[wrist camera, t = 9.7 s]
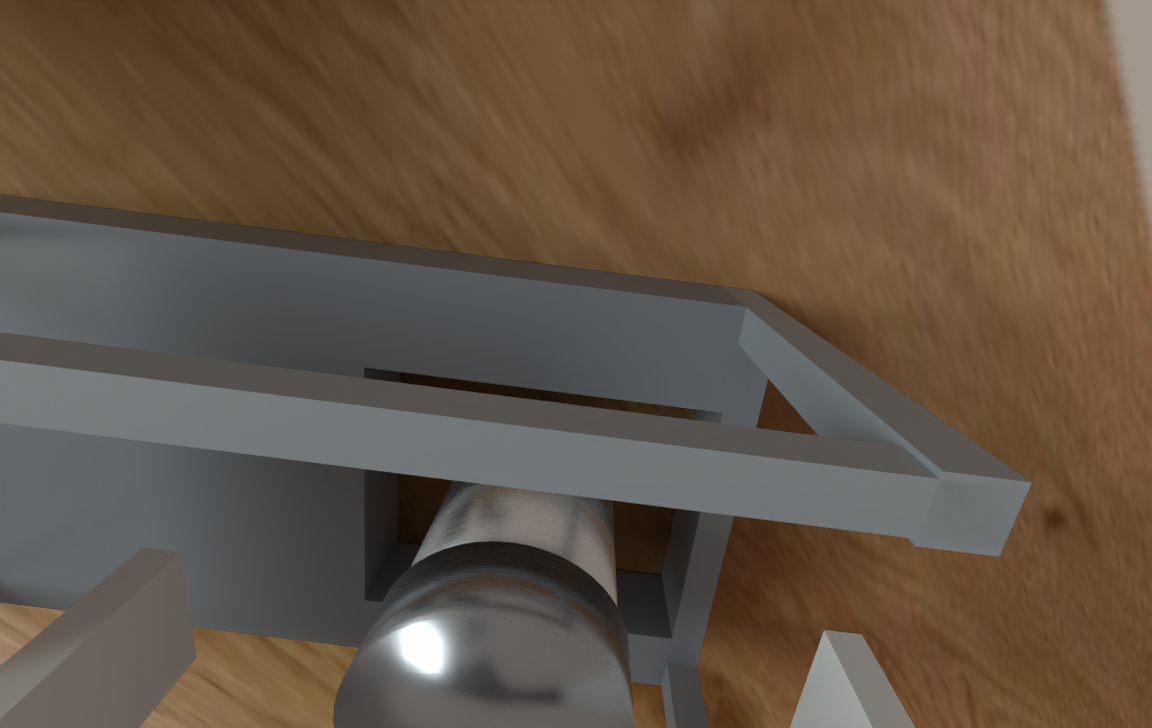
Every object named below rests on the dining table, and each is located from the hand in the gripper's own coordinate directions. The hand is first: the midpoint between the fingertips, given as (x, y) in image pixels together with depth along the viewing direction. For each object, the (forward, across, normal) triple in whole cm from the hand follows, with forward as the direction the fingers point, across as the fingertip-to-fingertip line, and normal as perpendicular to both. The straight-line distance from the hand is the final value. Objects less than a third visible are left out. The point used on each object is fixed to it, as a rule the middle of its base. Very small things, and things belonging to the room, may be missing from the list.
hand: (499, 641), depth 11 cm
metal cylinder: (+8, 0, -1) cm, 8 cm away
